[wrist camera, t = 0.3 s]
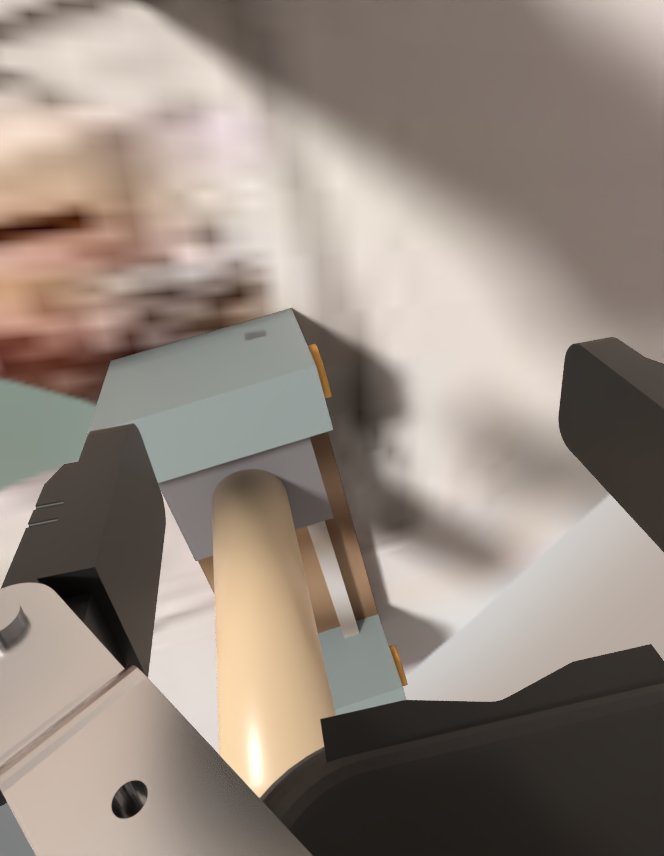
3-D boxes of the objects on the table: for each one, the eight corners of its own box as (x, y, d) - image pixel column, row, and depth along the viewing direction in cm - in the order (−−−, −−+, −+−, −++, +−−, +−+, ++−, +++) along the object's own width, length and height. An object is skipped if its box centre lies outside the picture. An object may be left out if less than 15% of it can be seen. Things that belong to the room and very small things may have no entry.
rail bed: (110, 361, 28) (103, 383, 26) (291, 308, 28) (298, 325, 26) (256, 665, 41) (259, 697, 38) (380, 625, 41) (390, 655, 39)
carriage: (159, 452, 28) (120, 809, 14) (300, 409, 28) (399, 717, 14) (195, 529, 30) (193, 893, 17) (324, 489, 31) (427, 814, 17)
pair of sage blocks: (110, 361, 28) (87, 434, 22) (299, 305, 28) (325, 362, 22) (256, 665, 41) (266, 764, 35) (385, 624, 41) (417, 714, 35)
